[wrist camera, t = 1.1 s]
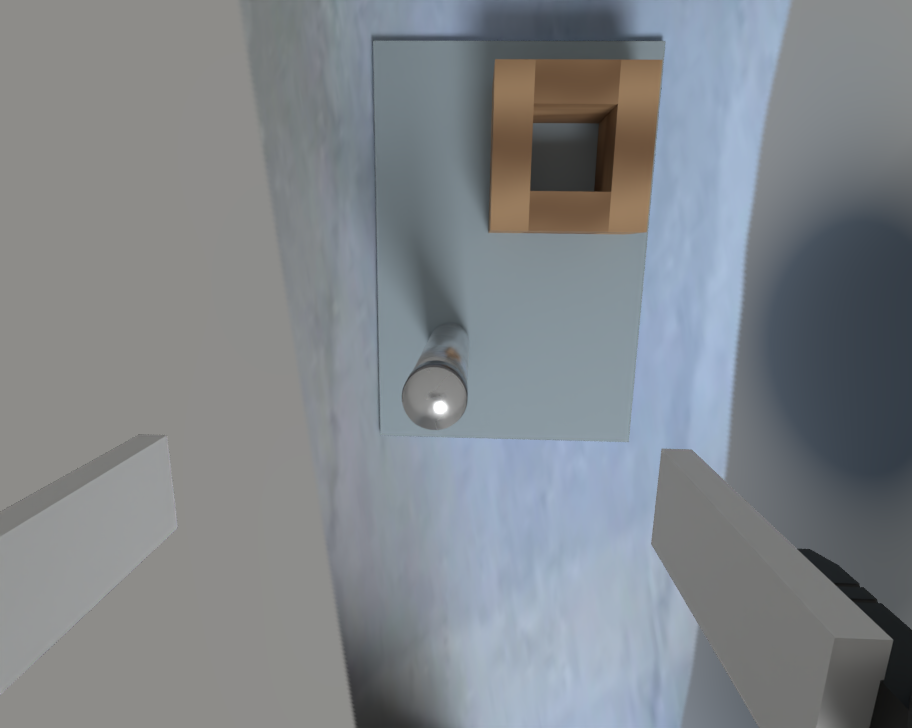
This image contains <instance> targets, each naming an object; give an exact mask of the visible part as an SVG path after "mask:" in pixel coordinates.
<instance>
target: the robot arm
mask: <svg viewBox="0 0 912 728" xmlns="http://www.w3.org/2000/svg"><path fill="white" fill-rule="evenodd" d="M177 528H178V524H177V516H176V507H175V500H174V490H173V481H172V473H171V465H170V456H169V448H168V439H167V435H144V434H139V435H137V436H135V437H134V438H132V439H130V440H128V441H126V442H125V443H123V444H121V445H119V446H117V447H116V448H114V449H112V450H110V451H108V452H106V453H105V454H103V455H101V456H100V457H98V458H96V459H94V460H92V461H90V462H89V463H87V464H85V465H83V466H81V467H80V468H78V469H76V470H74V471H73V472H71V473H69V474H67V475H65V476H63V477H62V478H60V479H58V480H56V481H54V482H53V483H51V484H49V485H48V486H46V487H44V488H42V489H40V490H38V491H36V492H35V493H33V494H31V495H29V496H28V497H26V498H24V499H22V500H20V501H18V502H17V503H15V504H13V505H11V506H10V507H8V508H6V509H4V510H3V511H0V695H1V694H2V693H3V692H4V691H5V690H6V689H7V688H8V687H9V686H10V685H12V683H14V682H15V681H16V680H17V679H18V678H19V677H20V676H21V675H22V674H23V673H24V672H25V671H26V670H27V669H29V668H30V667H31V666H32V665H33V664H34V663H35V662H36V661H37V660H38V659H39V658H40V657H41V656H42V655H43V654H44V653H46V652H47V651H48V650H49V649H50V648H51V647H52V646H53V645H54V644H55V643H56V642H57V641H58V640H59V639H60V638H61V637H62V636H64V635H65V634H66V633H67V632H68V631H69V630H70V629H71V628H72V627H73V626H74V625H75V624H76V623H77V622H78V621H80V619H82V618H83V617H84V616H85V615H86V614H87V613H88V612H89V611H90V610H91V609H92V608H93V607H94V606H95V605H96V604H97V603H99V602H100V601H101V600H102V599H103V598H104V597H105V596H106V595H107V594H108V593H109V592H110V591H111V590H112V589H113V588H115V587H116V586H117V585H118V584H119V583H120V582H121V581H122V580H123V579H124V578H125V577H126V576H127V575H128V574H129V573H130V572H132V571H133V570H134V568H136V567H137V566H138V565H139V564H140V563H141V562H142V561H143V560H144V559H145V558H146V557H147V556H148V555H150V554H151V553H152V552H153V551H154V550H155V549H156V548H157V547H158V546H159V545H160V544H161V543H162V542H163V541H164V540H166V538H168V537H169V536H170V535H171V534H172V533H173V532H174V531H175V530H176V529H177ZM651 544H652V546H653V548H654V549H655V551H656V553H657V555H658V556H659V558H660V560H661V561H662V563H663V565H664V566H665V568H666V570H667V572H668V573H669V575H670V577H671V578H672V580H673V582H674V583H675V585H676V587H677V589H678V590H679V592H680V594H681V595H682V597H683V599H684V600H685V602H686V604H687V606H688V607H689V609H690V611H691V612H692V614H693V616H694V617H695V619H696V621H697V623H698V624H699V626H700V628H701V629H702V631H703V633H704V634H705V636H706V638H707V640H708V641H709V643H710V645H711V646H712V648H713V650H714V651H715V653H716V655H717V657H718V658H719V660H720V662H721V663H722V665H723V667H724V668H725V670H726V672H727V674H728V675H729V677H730V679H731V680H732V682H733V683H734V685H735V687H736V689H737V691H738V692H739V694H740V696H741V697H742V699H743V701H744V703H745V704H746V706H747V708H748V709H749V711H750V713H751V714H752V716H753V718H754V720H755V721H756V723H757V725H758V726H759V728H912V630H911V629H910V628H909V627H908V626H907V625H906V624H904V623H903V622H902V621H901V620H900V619H899V618H898V617H896V616H895V615H894V614H893V613H892V612H891V611H890V610H888V609H887V608H886V607H885V606H884V605H883V604H881V603H878V602H877V599H876V598H875V597H874V596H873V595H871V594H870V593H869V592H868V591H867V590H866V589H865V588H864V587H860V586H859V583H858V582H857V581H856V580H854V579H853V578H852V577H851V576H850V575H849V574H848V573H847V572H845V571H844V570H843V569H842V568H841V567H840V566H839V565H837V564H835V563H833V562H832V561H830V560H828V559H826V558H825V557H823V556H821V555H819V554H818V553H816V552H814V551H812V550H810V549H796V548H795V547H794V546H793V545H792V544H791V543H790V542H789V541H788V540H787V539H786V538H785V537H784V536H783V535H782V534H781V533H779V532H778V531H777V530H776V529H775V528H774V527H773V526H772V525H771V524H770V523H769V522H768V521H767V520H766V519H765V518H764V517H762V516H761V515H760V514H759V513H758V512H757V511H756V510H755V509H754V508H753V507H752V506H751V505H750V504H749V503H747V501H746V500H744V499H743V498H742V497H741V496H740V495H739V494H738V493H737V492H736V491H735V490H734V489H733V488H732V487H731V486H730V485H729V484H727V483H726V482H725V481H724V480H723V479H722V478H721V477H720V476H719V475H718V474H717V473H716V472H715V471H714V470H713V469H712V468H711V467H710V466H708V465H707V464H706V463H705V462H704V461H703V460H702V459H701V458H700V457H699V456H698V455H697V454H696V453H695V452H694V451H693V450H687V449H662V451H661V460H660V469H659V478H658V487H657V496H656V505H655V514H654V524H653V533H652V542H651Z"/></svg>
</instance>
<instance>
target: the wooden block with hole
mask: <svg viewBox="0 0 912 728" xmlns="http://www.w3.org/2000/svg"><path fill="white" fill-rule="evenodd" d="M662 62H663V60H605V59H495V64H494V74H493V84H492V117H491V154H490V191H489V229H488V233H546V234H621V235H625V234H635V233H645V232H647V226H648V215H649V204H650V193H651V182H652V171H653V160H654V149H655V138H656V127H657V116H658V105H659V94H660V84H661V73H662ZM533 123H599V128H598V143H597V157H596V172H595V186H594V192H583V191H530V180H531V157H532V134H533Z"/></svg>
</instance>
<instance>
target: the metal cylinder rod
mask: <svg viewBox="0 0 912 728" xmlns="http://www.w3.org/2000/svg"><path fill="white" fill-rule="evenodd" d="M469 346H470V340H469V336H468V334H467V332H466V331H465V330H464V329H463V328H462V327H461V326H459V325H457V324H454V323H445V324H442V325H440V326H438V327H437V328H436V329H435V330H434V331H433V332H432V334H431V336H430V338H429V340H428V342H427V344H426V346H425V348H424V350H423V352H422V354H421V356H420V358H419V360H418V362H417V364H416V366H415V367H414V369H413V371H412V372H411V373H410V375H409V377H408V379H407V381H406V382H405V384H404V387H403V390H402V404H403V408H404V410H405V412H406V414H407V416H408V417H409V418H410V420H411V421H412V422H414V423H415V424H416V425H418V426H420V427H422V428H425V429H428V430H442V429H445V428H448V427H450V426H452V425H453V424H455V423H456V422H457V421H458V420H459V419H460V418H461V417H462V415H463V414H464V412H465V410H466V407H467V401H468V386H467V381H468V364H469Z"/></svg>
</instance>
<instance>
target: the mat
mask: <svg viewBox="0 0 912 728" xmlns="http://www.w3.org/2000/svg"><path fill="white" fill-rule="evenodd" d="M664 52H665V41H373V71H374V124H375V177H376V230H377V283H378V336H379V389H380V436H416V437H454V438H492V439H530V440H568V441H607V442H629V433H630V422H631V411H632V400H633V389H634V378H635V367H636V357H637V346H638V335H639V324H640V313H641V302H642V291H643V280H644V270H645V259H646V248H647V237H648V226H649V215H650V204H651V193H652V183H653V172H654V161H655V150H656V139H657V128H658V117H659V106H660V96H661V85H662V74H663V63H664ZM495 59H605V60H663V62H662V73H661V84H660V94H659V105H658V116H657V127H656V138H655V149H654V160H653V171H652V182H651V193H650V204H649V215H648V226H647V232H645V233H635V234H625V235H621V234H546V233H488V229H489V191H490V154H491V117H492V84H493V74H494V64H495ZM598 128H599V123H533V134H532V157H531V180H530V191H583V192H594V186H595V172H596V157H597V143H598ZM445 323H454V324H457V325H459V326H461V327H462V328H463V329H464V330H465V331H466V332H467V334H468V336H469V340H470V346H469V364H468V381H467V386H468V401H467V407H466V410H465V412H464V414H463V415H462V417H461V418H460V419H459V420H458V421H457V422H456V423H455V424H453V425H452V426H450V427H448V428H445V429H442V430H428V429H425V428H422V427H420V426H418V425H416V424H415V423H414V422H412V421H411V420H410V418H409V417H408V416H407V414H406V412H405V410H404V408H403V404H402V390H403V387H404V384H405V382H406V381H407V379H408V377H409V375H410V373H411V372H412V371H413V369H414V367H415V366H416V364H417V362H418V360H419V358H420V356H421V354H422V352H423V350H424V348H425V346H426V344H427V342H428V340H429V338H430V336H431V334H432V332H433V331H434V330H435V329H436V328H437V327H438V326H440V325H442V324H445Z"/></svg>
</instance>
